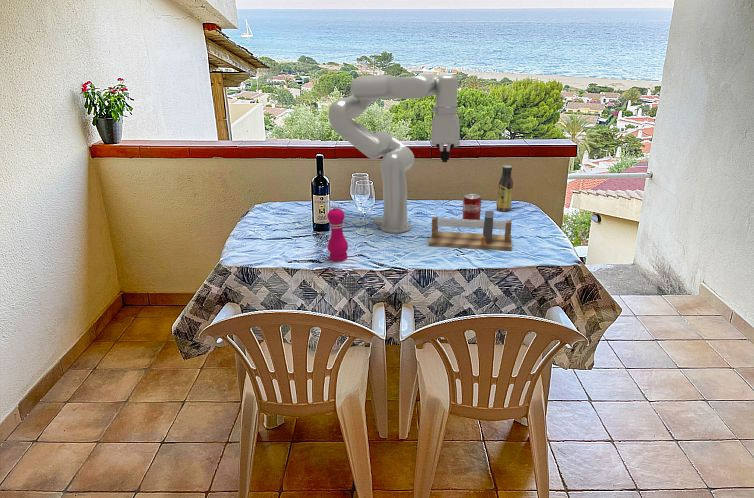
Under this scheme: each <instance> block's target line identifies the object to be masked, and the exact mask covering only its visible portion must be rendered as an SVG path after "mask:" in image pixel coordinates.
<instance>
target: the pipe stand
mask: <svg viewBox="0 0 754 498" xmlns="http://www.w3.org/2000/svg"><path fill="white" fill-rule="evenodd" d="M438 218H439V216H433V217H432V219H431V235H430V238H429V240H428V246H429V247H442V248H443V247H444V248H457V249H458V248H459V249H471V250H472V249H475V250H492V251H508V252H509V251H510V252H512V248H513V247H512V246H513V245H512V242H513V241H512V222H513V221H512V220H509V219H508V220H507V219H506V220H505V221H506V228H505V231H504V234H493V233H492V239H488V238H485V237H484V228H482V229H483V230H482V233H476V232H475V233H474V232H459V231H458V232H457V231H456V232H455V231H440V230H439V226H437V220H438Z"/></svg>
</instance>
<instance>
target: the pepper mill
mask: <svg viewBox="0 0 754 498" xmlns="http://www.w3.org/2000/svg"><path fill="white" fill-rule="evenodd" d="M345 217H346V216H345V213H344V210H342V209H341V208H339V206H338V204H334V205H333V206H332V209H330V210H329V211H328V213H327V220H328V221H329V228H330V231H331V233H330V237H329V240H328V243H327V251H328V252H329V260H330V259H331V260H330V261H332V260H333V262H335V261H340V262H343V260H344V261H346V260H347V259H348V253H347V251H348V250H349V244H348V240H346V237H345V235H344V229H343V227H344V226H345V225H344V220H345ZM345 259H346V260H345Z"/></svg>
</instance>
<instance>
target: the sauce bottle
mask: <svg viewBox="0 0 754 498" xmlns="http://www.w3.org/2000/svg"><path fill="white" fill-rule="evenodd" d="M512 170H513V166H512V165H509V164H507V165H503V166H502V174H501V178H500V179H499V182H498V184H497V198H496V210H497V211H500V212H509V211H510V210H511V206H512V199H513V189H514V188H513V185H514V181H513V178H512Z"/></svg>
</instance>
